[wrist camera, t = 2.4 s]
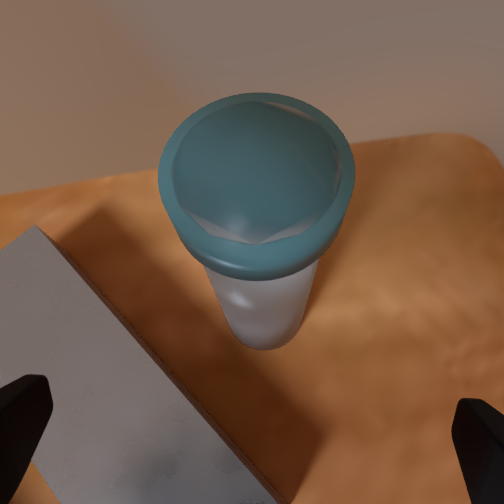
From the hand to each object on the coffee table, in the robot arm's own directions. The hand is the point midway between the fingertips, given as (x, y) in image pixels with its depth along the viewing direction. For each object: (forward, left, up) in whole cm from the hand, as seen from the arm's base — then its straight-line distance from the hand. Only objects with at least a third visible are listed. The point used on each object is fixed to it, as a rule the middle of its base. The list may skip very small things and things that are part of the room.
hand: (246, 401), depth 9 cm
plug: (+3, -4, -11) cm, 13 cm away
